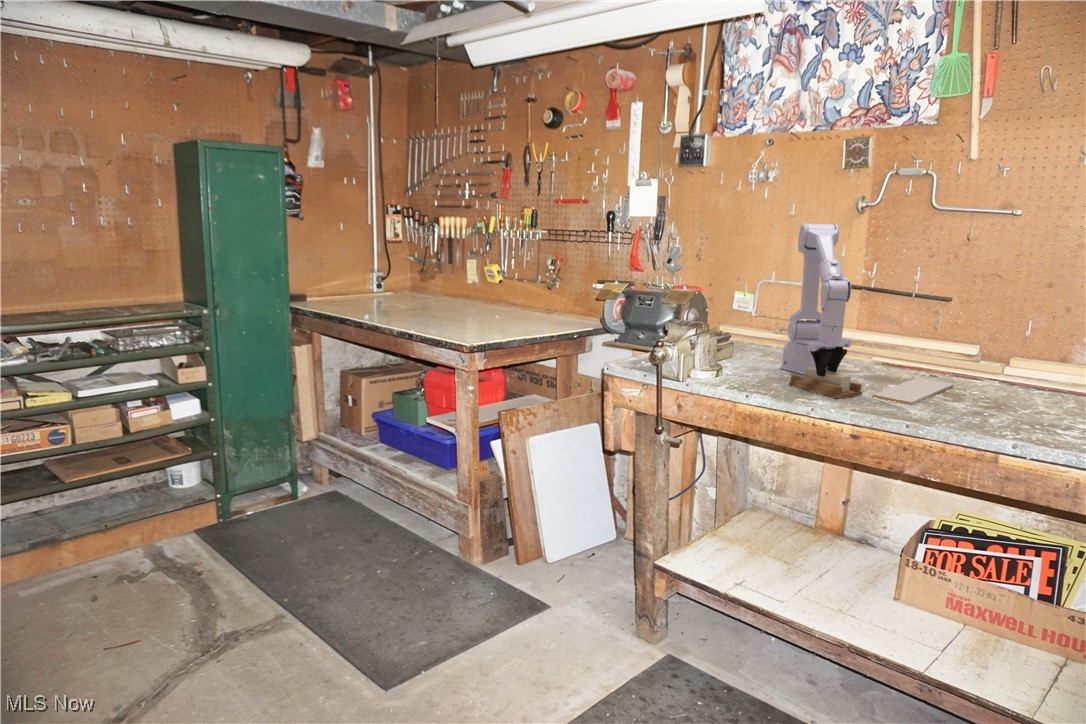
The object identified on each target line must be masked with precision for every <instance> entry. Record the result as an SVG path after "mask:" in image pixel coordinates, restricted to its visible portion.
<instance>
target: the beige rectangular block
mask: <svg viewBox="0 0 1086 724" xmlns="http://www.w3.org/2000/svg"><path fill="white" fill-rule="evenodd" d="M803 377H806V378H810V379H813V380H817V381H821V382H824V383H828V384H832V385H835V386H839V387H843V388H842V392H846V391H849V389H850V382H852V381H851V379H852V376H851V375H849V374H848V375H847V374H843V373H839V372H832V371H828V370H826V374H825V376H824V377H822V376H818V375H817V372H816V367H809V368H805V373H804V374H803Z"/></svg>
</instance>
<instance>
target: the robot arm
mask: <svg viewBox="0 0 1086 724" xmlns="http://www.w3.org/2000/svg"><path fill="white" fill-rule="evenodd" d="M839 238H840V227H839V225H838V224H837V223H831V224H830V223H807V222H803V224H802V225H801V226H800V229H799V232H798V242H797V247H798V249H797V250H798V252H799V253H801V254H803V266H802V267H803V270H802V280H801V281H802V282H801V283H802V284H801V294H800V299H801V300H800V308H799V309H798V310H797V311H795V312H794V313H792V314H791V315H790V317H789V323H788V325H787V337H788V339H789V340H788V341H786V343H785V344H784V346H783V351H782V360H781V366H780V367H779V369H782V370H785V371H789V372H791V373H792V372H793V373H796V374H800V375H804V373H805V368H809V367H816V372H817V375H818V376H822V377H824V376H825V374H826V370H828V371H832V372H836V373H838V372H837V371H838V369H839V366H840V364H841V362H842V360H843V359H844V357H845V356H846V355H847V354H848V349H846V348H851V346H852V345H851V344H852V340H851V339H846V338H845V339H844V338H843V332H844V331H843V329H844V323H845V315H846V305H847V303H848V302H849V301H850V299H851V293H852V284H851V281H850V280H849V279H848V278H847V277H845V275H844V271H843V266H842V262H841V261H839V260H838V259H836V253H835V247H836V245H837V243H838V241H839ZM820 282H821V285H820ZM819 289H820V291H819ZM819 293H820V308H821V312H820V311H819V310H818V307H819V306H818V305H819V304H818V303H819Z"/></svg>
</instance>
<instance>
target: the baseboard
mask: <svg viewBox="0 0 1086 724" xmlns="http://www.w3.org/2000/svg"><path fill="white" fill-rule="evenodd" d="M914 375H915V376H916V375H918V376H919V374H917V373H915V374H914ZM914 375H910V378H911V377H912V378H913V379H914V380H913V379H912V378H911V379H910V380H911V381H910V380H907V381H904V382H902V383H900V384H897V385H894V386H891V387H888V388H887V390H885V389H883V390H881V391H882V392H881V391H878V392H876V393H872V394H870V395H869V396H872V397H871V398H873V397H877V398H876V399H878V398H881V399H880V400H882V399H886V400H885V401H887V400H891V401H890V402H892V401H896V402H895V403H897V402H901V403H900V404H902V403H904V404H903V405H907V404H909V405H908V406H912V404H913V405H915V404H918V403H919V401H920V402H922V401H924V400H926V398H927V399H929V398H931V397H933V396H935V394H936V395H938V394H940V393H943V392H945V391H947V390H949V389H952V388H954V387H953V386H955V383H954V382H955V379H953V380H950V381H951V382H953V383H951V382H948V381H947V382H946V381H940V380H942V378H941V377H939V379H940V380H935V379H936V378H937V375H935V374H929V376H928V375H927V377H932V378H935V379H928V378H925V377H923V378H922V377H920V376H919V377H917V378H915V377H914ZM922 376H925V375H924V374H922ZM944 380H947V379H945V378H944ZM951 387H952V388H951ZM948 388H949V389H948ZM946 389H947V390H946ZM944 390H945V391H944ZM942 391H943V392H942ZM937 393H938V394H937ZM930 396H931V397H930ZM928 397H929V398H928ZM923 399H924V400H923ZM921 400H922V401H921Z"/></svg>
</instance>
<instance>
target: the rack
mask: <svg viewBox="0 0 1086 724" xmlns="http://www.w3.org/2000/svg"><path fill="white" fill-rule="evenodd" d="M788 386H790V387H793V386H794V388H798V389H800V388H801V390H804V389H805V390H804V391H807V390H809V391H808V392H811V391H813V392H812V393H814V392H816V393H815V394H817V393H820V394H819V395H821V394H823V395H822V396H824V395H827V396H826V397H828V396H831V397H834V398H833V399H835V398H842V399H845V398H844V397H849V398H852V397H851V396H855V397H859V396H858V395H861V396H862V395H863V394H862V393H863V391H862V384H860V383H857V382H853V381H850V389H849V391H846V392H842V388H843V387H839V386H835V385H832V384H828V383H824V382H821V381H817V380H813V379H810V378H806V377H804V376H803V375H802V376H801V375H798V374H795V373H794V374H793V373H792V374H791V375H790V381H789V382H788ZM831 397H830V398H831Z"/></svg>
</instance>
